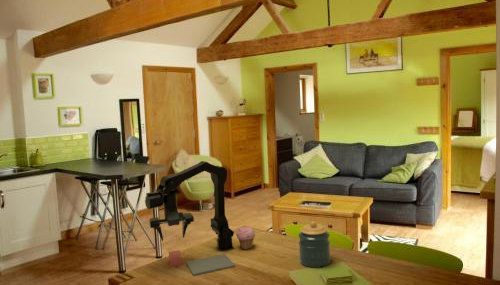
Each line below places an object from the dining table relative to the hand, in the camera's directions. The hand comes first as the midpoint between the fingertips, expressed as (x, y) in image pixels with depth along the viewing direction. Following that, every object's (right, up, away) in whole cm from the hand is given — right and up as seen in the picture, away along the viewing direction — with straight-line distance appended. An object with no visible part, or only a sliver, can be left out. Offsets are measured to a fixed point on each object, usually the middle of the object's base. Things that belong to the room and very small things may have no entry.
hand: (173, 239), depth 180 cm
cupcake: (+32, -8, +14) cm, 36 cm away
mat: (+17, -11, -3) cm, 20 cm away
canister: (+62, -8, -7) cm, 63 cm away
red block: (+1, -11, +2) cm, 11 cm away
